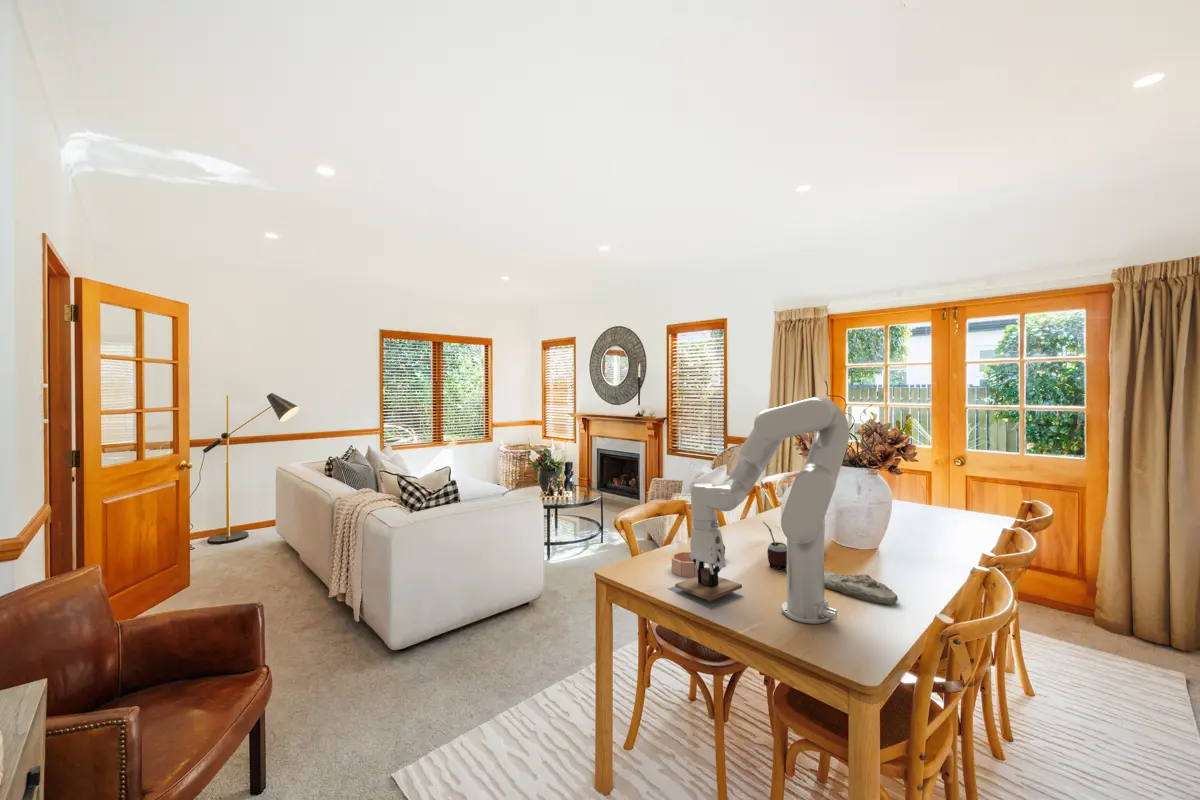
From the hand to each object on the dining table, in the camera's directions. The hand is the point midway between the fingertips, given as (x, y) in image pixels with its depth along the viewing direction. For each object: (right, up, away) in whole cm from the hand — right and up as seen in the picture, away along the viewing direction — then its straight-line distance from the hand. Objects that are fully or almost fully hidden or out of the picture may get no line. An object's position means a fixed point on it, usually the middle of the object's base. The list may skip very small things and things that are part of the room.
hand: (708, 583), depth 150 cm
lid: (0, -1, 0) cm, 1 cm away
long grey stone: (+41, -3, +5) cm, 42 cm away
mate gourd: (+29, -2, +21) cm, 36 cm away
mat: (-1, -3, +1) cm, 4 cm away
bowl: (-3, -3, +19) cm, 19 cm away
